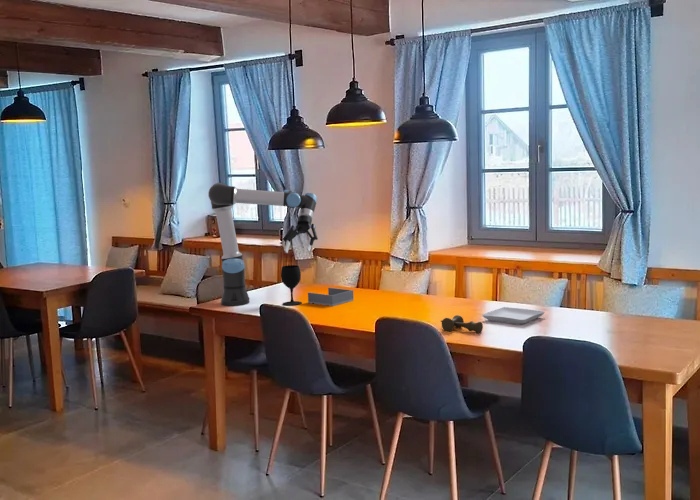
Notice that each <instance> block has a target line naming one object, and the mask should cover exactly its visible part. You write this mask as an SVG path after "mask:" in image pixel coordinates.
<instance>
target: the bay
mask: <svg viewBox="0 0 700 500" xmlns="http://www.w3.org/2000/svg"><path fill="white" fill-rule="evenodd" d="M327 289H328V290H327V291H328V294H324V293H315V292H307V303H308V304H312V303H314V304H313V305H320V304H322V305H321V306H327V305H329V306H328V307H335V306H339V305H341V304H346V303H349V302H352V301H355V300H354V290H353V289H346V288H338V287H337V288H336V287H328V288H327Z"/></svg>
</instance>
